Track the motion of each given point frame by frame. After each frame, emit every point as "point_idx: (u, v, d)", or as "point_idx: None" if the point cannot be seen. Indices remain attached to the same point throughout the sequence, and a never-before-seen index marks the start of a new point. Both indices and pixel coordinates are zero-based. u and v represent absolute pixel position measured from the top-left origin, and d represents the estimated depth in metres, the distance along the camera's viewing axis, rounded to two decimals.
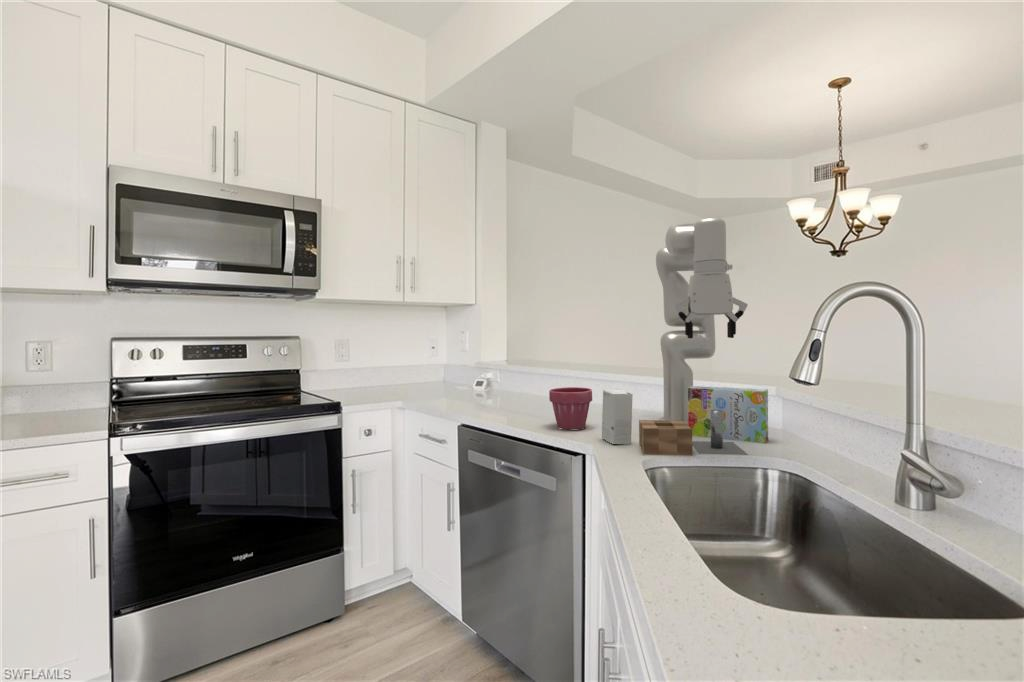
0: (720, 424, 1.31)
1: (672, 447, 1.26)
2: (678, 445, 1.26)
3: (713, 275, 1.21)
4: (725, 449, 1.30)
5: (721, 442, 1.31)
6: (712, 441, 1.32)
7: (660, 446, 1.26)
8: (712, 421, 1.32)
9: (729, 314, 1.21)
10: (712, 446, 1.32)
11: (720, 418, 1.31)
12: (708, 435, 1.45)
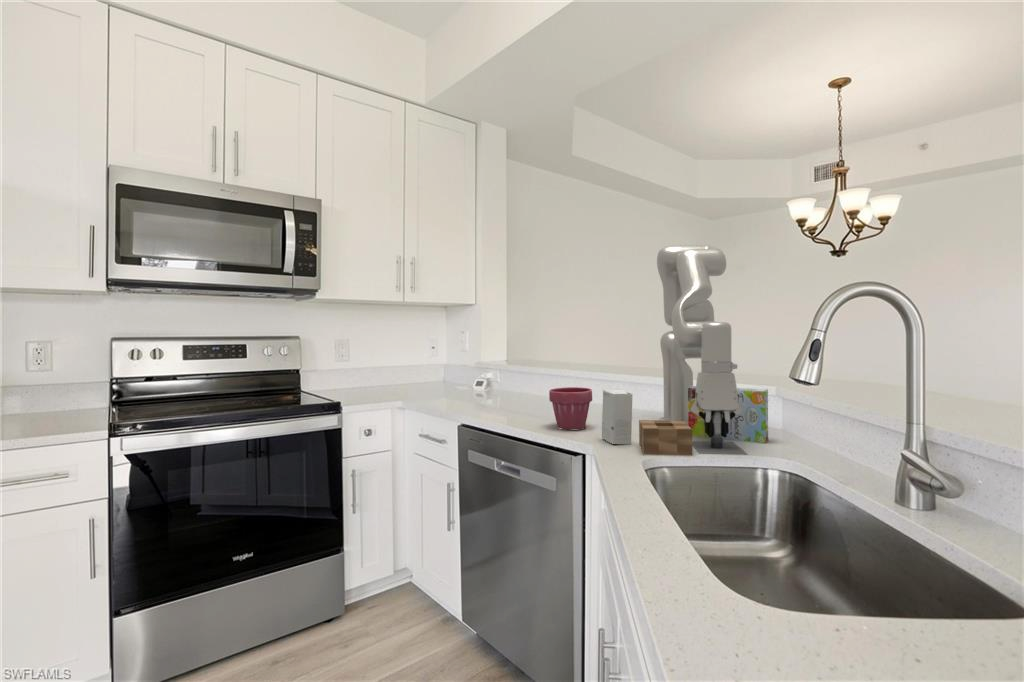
0: (720, 424, 1.31)
1: (672, 447, 1.26)
2: (678, 445, 1.26)
3: (719, 375, 1.30)
4: (725, 449, 1.30)
5: (721, 442, 1.31)
6: (712, 441, 1.32)
7: (660, 446, 1.26)
8: (712, 421, 1.32)
9: (726, 413, 1.31)
10: (712, 446, 1.32)
11: (720, 418, 1.31)
12: None
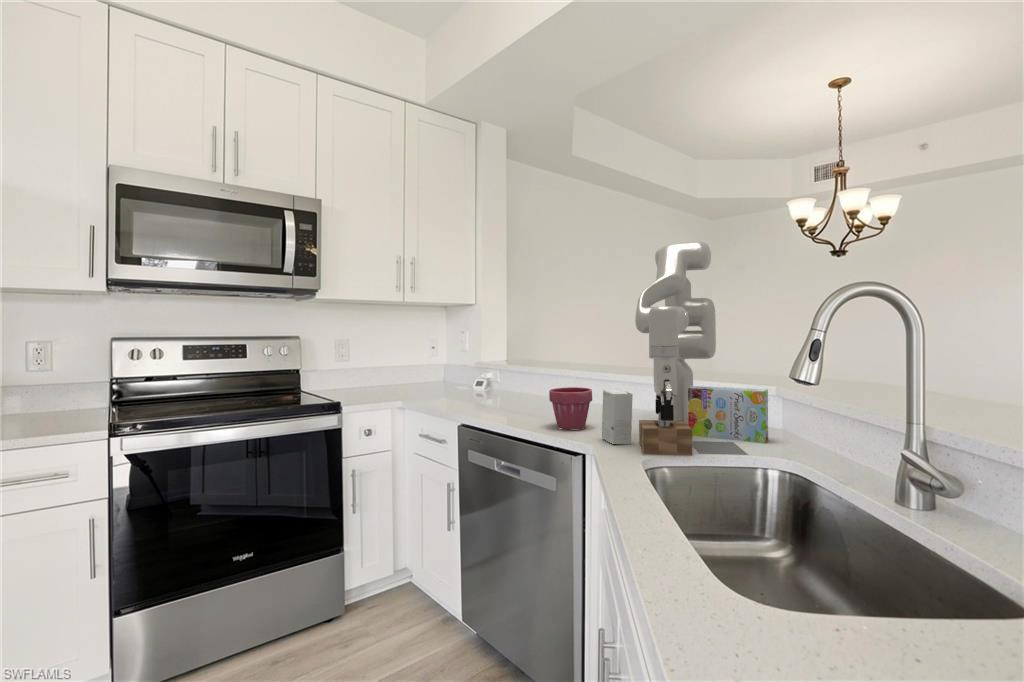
0: None
1: (672, 447, 1.26)
2: (678, 445, 1.26)
3: (654, 359, 1.31)
4: (725, 449, 1.30)
5: None
6: None
7: (660, 446, 1.26)
8: None
9: (661, 397, 1.28)
10: None
11: (659, 420, 1.32)
12: (708, 435, 1.45)
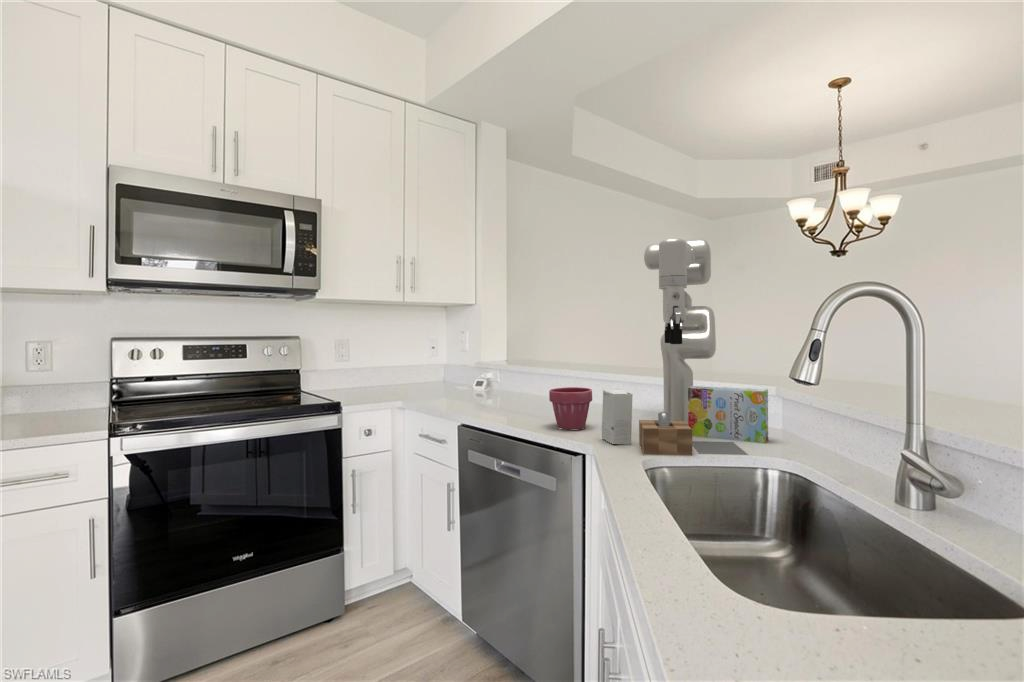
0: None
1: (672, 447, 1.26)
2: (678, 445, 1.26)
3: (663, 289, 1.40)
4: (725, 449, 1.30)
5: None
6: None
7: (660, 446, 1.26)
8: None
9: (670, 323, 1.36)
10: None
11: (659, 420, 1.31)
12: (708, 435, 1.45)
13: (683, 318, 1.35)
